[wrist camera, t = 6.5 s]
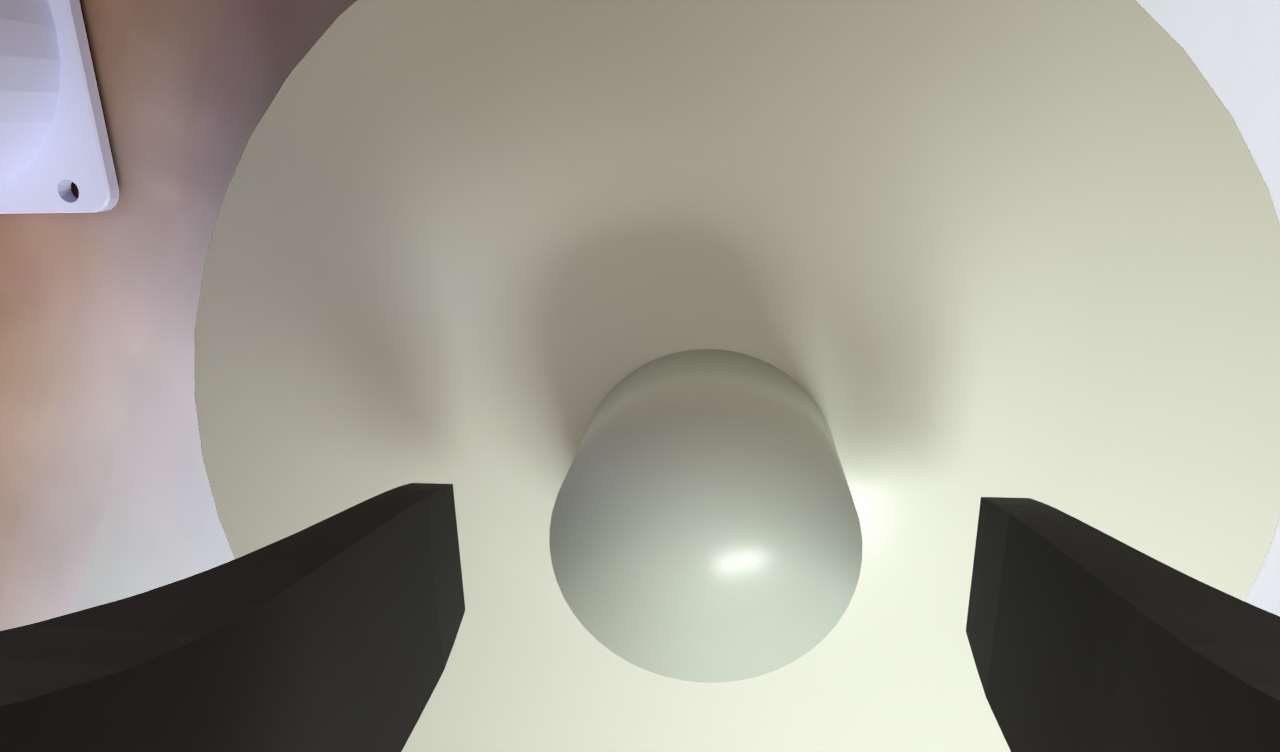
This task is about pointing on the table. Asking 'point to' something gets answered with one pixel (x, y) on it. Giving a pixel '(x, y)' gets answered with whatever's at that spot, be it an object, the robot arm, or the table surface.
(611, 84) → the lid
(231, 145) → the table surface
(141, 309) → the table surface
